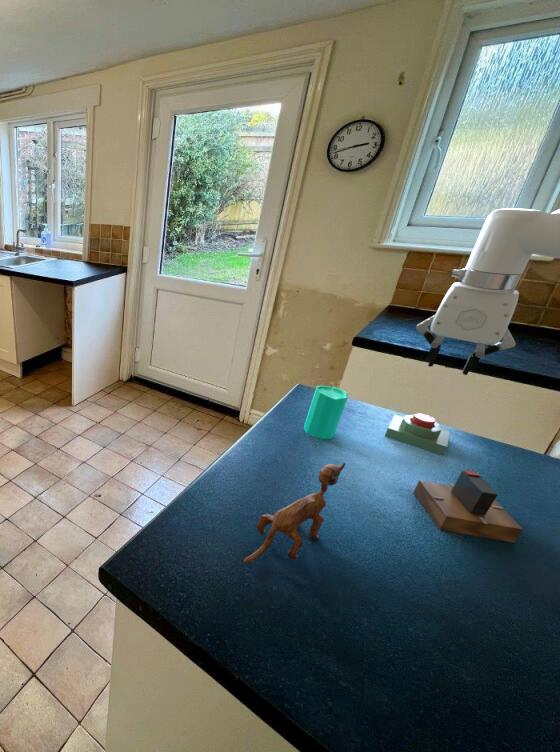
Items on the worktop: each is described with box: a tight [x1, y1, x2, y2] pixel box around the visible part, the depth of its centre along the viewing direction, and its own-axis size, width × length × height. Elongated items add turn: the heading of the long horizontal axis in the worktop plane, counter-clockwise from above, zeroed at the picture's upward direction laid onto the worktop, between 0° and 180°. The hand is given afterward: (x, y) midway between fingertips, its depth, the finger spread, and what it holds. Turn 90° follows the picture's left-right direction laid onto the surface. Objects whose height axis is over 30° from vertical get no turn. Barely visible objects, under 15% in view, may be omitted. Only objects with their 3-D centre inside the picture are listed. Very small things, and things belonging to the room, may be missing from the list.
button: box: [411, 412, 436, 428], centre depth 90 cm, size 4×4×2 cm
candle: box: [303, 384, 349, 440], centre depth 92 cm, size 6×6×12 cm
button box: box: [384, 414, 452, 456], centre depth 91 cm, size 10×8×4 cm
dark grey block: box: [452, 469, 499, 515], centre depth 69 cm, size 6×2×5 cm, turn 165°
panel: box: [412, 480, 523, 544], centre depth 71 cm, size 10×10×3 cm
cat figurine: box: [243, 462, 346, 565], centre depth 63 cm, size 18×7×14 cm, turn 118°
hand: (447, 367), depth 84 cm, fingers open, 4 cm apart
